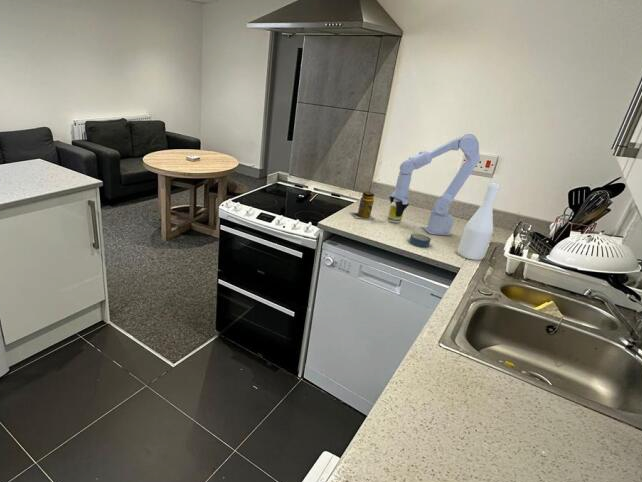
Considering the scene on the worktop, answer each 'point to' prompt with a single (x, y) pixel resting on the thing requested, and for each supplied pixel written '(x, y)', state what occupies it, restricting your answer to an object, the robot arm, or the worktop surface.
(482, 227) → the wine bottle
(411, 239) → the tin
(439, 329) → the worktop surface
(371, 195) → the condiment
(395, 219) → the pill bottle
